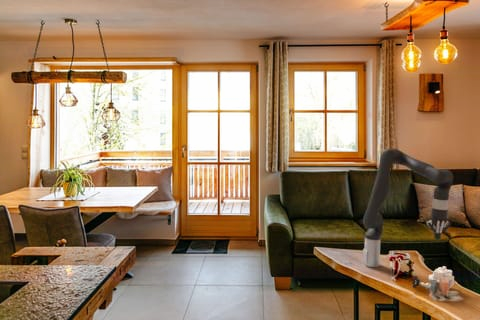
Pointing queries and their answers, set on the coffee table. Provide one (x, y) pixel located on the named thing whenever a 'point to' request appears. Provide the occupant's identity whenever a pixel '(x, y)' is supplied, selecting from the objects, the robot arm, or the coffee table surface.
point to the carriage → (444, 287)
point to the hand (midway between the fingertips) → (437, 239)
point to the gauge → (438, 294)
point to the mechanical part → (442, 275)
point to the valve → (417, 283)
